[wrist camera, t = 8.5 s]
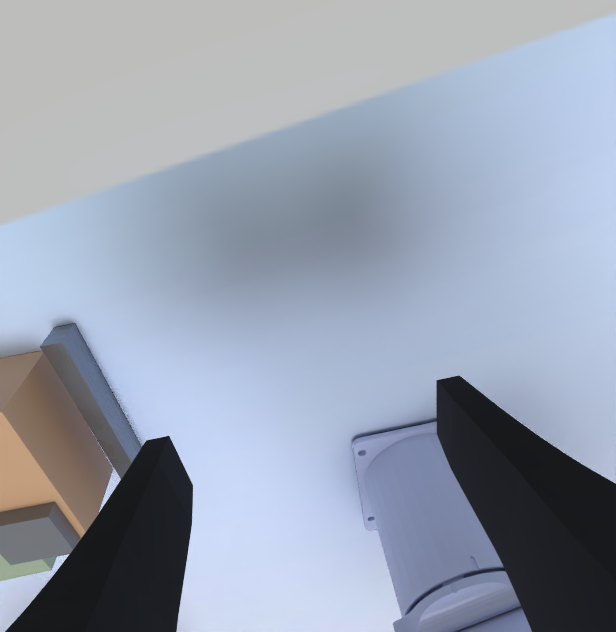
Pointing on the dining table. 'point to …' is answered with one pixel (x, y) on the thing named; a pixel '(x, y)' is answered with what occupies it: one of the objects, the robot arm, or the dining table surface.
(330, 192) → the dining table surface
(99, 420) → the pair of grey bars
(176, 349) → the dining table surface
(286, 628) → the dining table surface
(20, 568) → the deck
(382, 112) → the dining table surface
